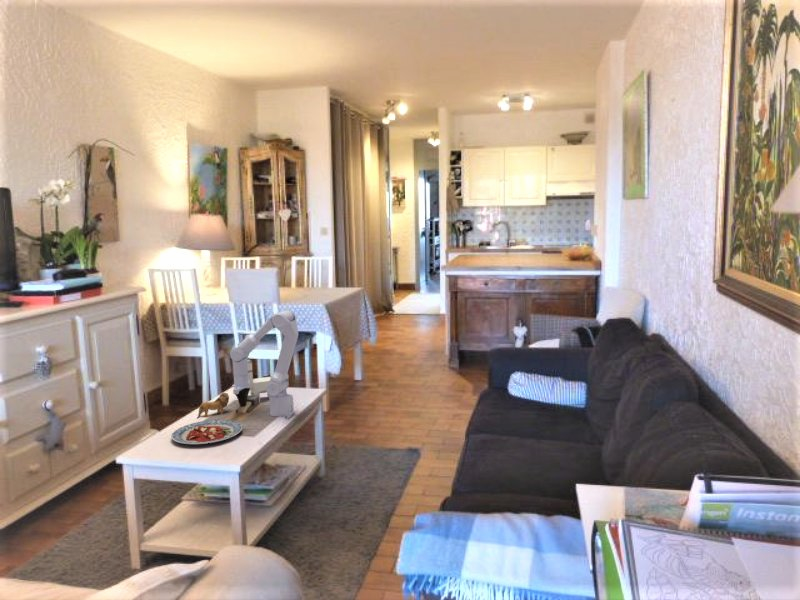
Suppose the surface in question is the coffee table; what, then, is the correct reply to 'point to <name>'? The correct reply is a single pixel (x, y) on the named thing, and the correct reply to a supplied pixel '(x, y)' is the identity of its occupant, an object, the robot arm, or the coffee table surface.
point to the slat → (244, 409)
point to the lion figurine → (214, 405)
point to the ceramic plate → (206, 432)
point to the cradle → (242, 417)
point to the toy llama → (256, 382)
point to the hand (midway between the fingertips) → (243, 406)
